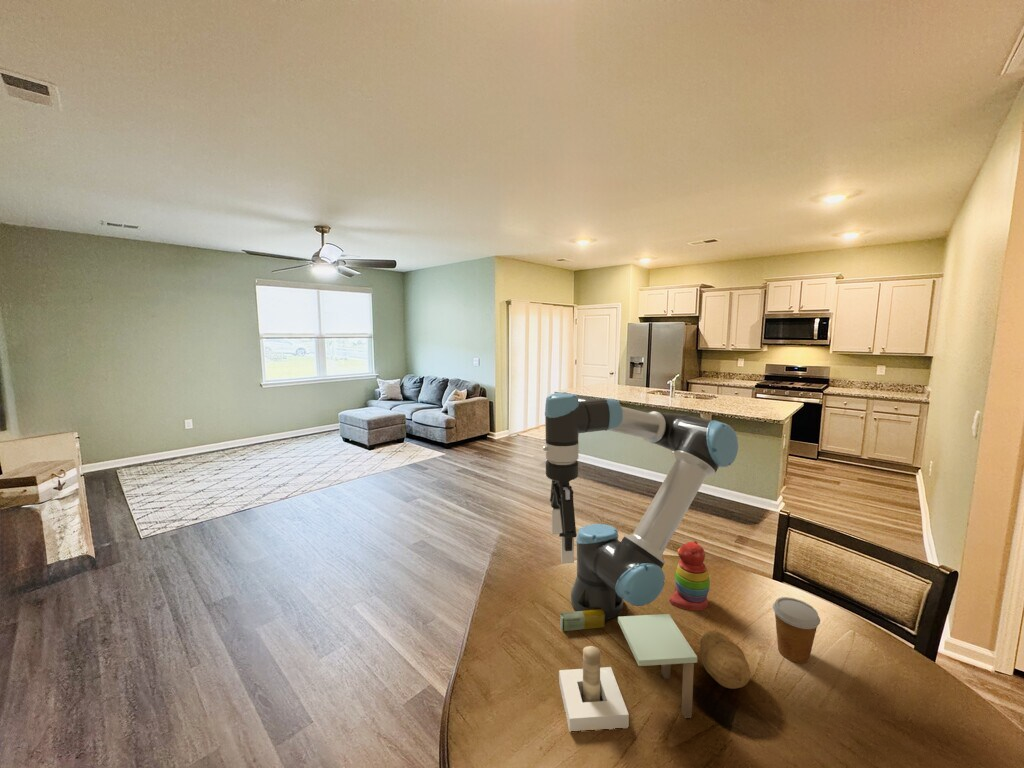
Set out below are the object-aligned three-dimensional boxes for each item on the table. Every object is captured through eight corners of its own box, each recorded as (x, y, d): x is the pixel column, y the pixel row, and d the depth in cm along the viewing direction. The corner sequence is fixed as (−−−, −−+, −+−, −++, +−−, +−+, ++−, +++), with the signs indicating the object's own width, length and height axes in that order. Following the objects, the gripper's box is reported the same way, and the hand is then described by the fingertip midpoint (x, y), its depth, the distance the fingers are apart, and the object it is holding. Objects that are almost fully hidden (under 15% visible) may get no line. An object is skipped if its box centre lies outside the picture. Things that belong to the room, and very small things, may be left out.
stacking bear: (677, 585, 129) (678, 531, 127) (712, 597, 123) (714, 540, 121) (667, 603, 120) (669, 546, 118) (704, 616, 115) (707, 556, 113)
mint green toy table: (617, 673, 96) (618, 616, 94) (667, 669, 96) (668, 613, 95) (637, 725, 83) (638, 660, 81) (694, 720, 84) (697, 656, 82)
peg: (581, 697, 90) (581, 646, 88) (597, 695, 90) (597, 645, 88) (584, 711, 86) (585, 659, 85) (601, 710, 86) (602, 658, 85)
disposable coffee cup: (825, 671, 95) (829, 623, 94) (780, 665, 97) (783, 618, 96) (805, 642, 105) (808, 598, 103) (764, 637, 106) (766, 594, 105)
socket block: (559, 682, 93) (559, 670, 93) (610, 678, 94) (610, 666, 94) (569, 732, 82) (569, 718, 81) (628, 728, 82) (628, 714, 82)
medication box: (562, 632, 110) (562, 618, 109) (559, 625, 112) (559, 612, 112) (605, 628, 111) (605, 614, 111) (601, 621, 114) (602, 607, 113)
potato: (728, 652, 102) (730, 622, 101) (761, 702, 88) (763, 668, 87) (688, 652, 102) (689, 622, 101) (715, 702, 88) (716, 668, 87)
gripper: (539, 446, 107) (539, 524, 110) (554, 478, 82) (555, 578, 85) (567, 445, 108) (567, 523, 110) (591, 477, 83) (590, 576, 85)
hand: (561, 547), depth 97 cm, fingers open, 13 cm apart
